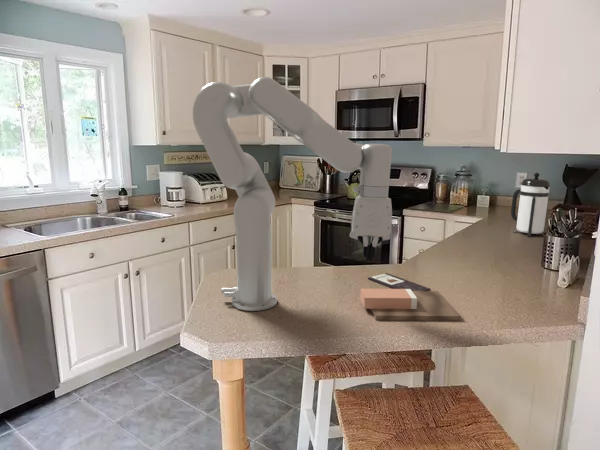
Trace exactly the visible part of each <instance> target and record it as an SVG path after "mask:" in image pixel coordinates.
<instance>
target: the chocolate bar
mask: <svg viewBox="0 0 600 450" xmlns="http://www.w3.org/2000/svg"><path fill="white" fill-rule="evenodd" d="M367 280H368V281H371V282H373V283H377V284H379V285H381V286H384V287H387V288H388V289H411V291H431V288H430V287H426V286H424V285H421V284H418V283H415V282H413V281H410V280H407V279H404V278H401V277H398V276H396V275H393V274H391V273H388V272H387V273H382V274H378V275H373V276H370V277H367Z"/></svg>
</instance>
